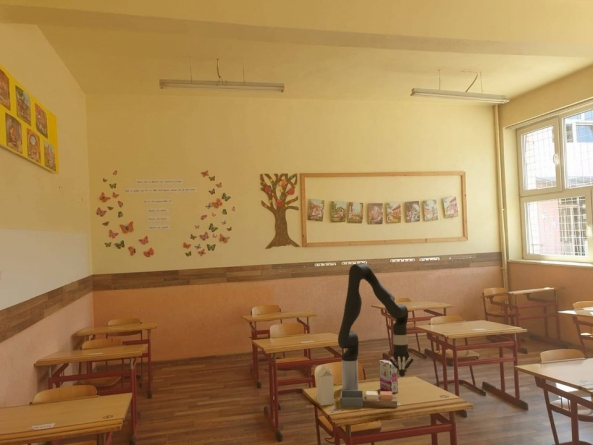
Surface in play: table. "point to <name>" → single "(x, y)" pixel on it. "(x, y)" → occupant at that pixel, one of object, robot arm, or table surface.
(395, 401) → the grey brown tray
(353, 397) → the tray
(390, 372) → the candy bar box
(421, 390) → the table surface
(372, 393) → the tile cream
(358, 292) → the robot arm
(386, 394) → the tile terracotta
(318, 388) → the milk carton
